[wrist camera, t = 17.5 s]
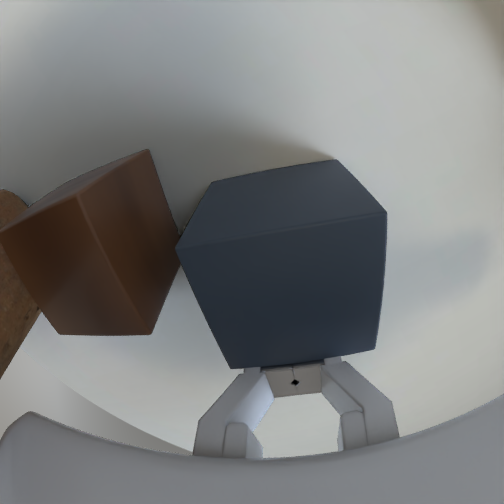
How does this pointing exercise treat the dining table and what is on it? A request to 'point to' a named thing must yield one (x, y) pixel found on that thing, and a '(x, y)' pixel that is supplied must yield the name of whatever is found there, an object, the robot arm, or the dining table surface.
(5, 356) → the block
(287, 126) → the dining table surface
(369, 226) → the slate cube
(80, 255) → the walnut cube
